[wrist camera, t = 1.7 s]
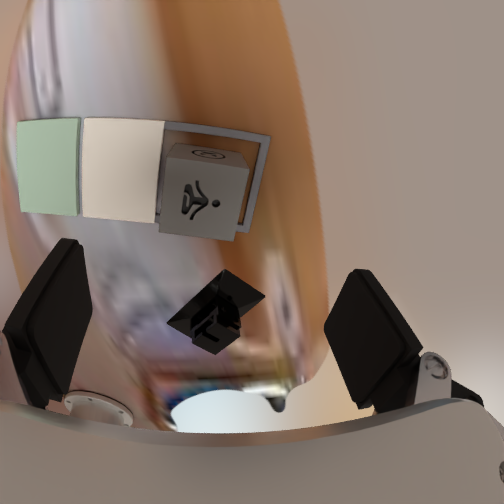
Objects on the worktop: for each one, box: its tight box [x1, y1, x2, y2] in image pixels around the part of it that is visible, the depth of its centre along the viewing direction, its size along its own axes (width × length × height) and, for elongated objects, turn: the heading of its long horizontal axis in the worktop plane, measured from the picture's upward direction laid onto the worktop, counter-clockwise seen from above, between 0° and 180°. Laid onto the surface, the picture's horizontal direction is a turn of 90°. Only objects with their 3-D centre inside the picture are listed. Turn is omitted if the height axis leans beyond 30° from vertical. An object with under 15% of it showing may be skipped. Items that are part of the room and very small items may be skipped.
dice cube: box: [159, 143, 250, 241], centre depth 19 cm, size 5×5×5 cm
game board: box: [17, 118, 271, 233], centre depth 20 cm, size 8×21×1 cm, turn 78°
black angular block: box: [167, 269, 265, 355], centre depth 27 cm, size 12×7×5 cm, turn 134°
